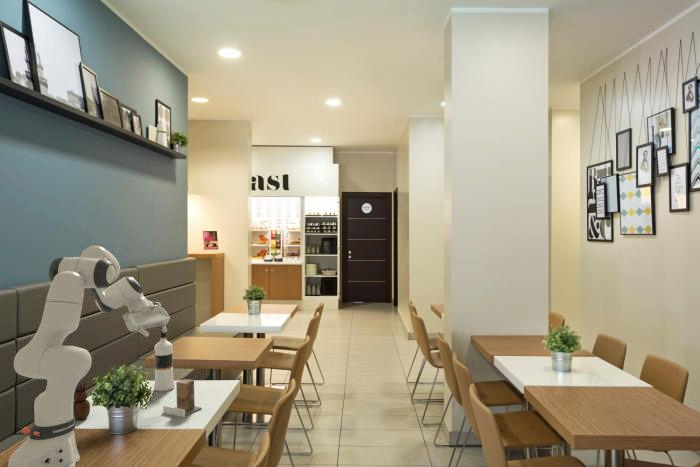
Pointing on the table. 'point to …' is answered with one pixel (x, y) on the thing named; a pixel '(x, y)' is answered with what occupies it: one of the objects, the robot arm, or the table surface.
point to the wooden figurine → (81, 403)
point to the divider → (174, 411)
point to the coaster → (193, 410)
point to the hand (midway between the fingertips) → (156, 333)
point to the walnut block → (185, 394)
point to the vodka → (163, 364)
